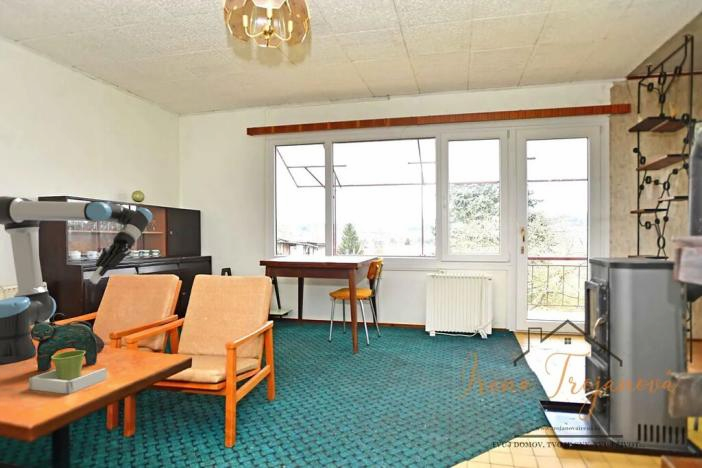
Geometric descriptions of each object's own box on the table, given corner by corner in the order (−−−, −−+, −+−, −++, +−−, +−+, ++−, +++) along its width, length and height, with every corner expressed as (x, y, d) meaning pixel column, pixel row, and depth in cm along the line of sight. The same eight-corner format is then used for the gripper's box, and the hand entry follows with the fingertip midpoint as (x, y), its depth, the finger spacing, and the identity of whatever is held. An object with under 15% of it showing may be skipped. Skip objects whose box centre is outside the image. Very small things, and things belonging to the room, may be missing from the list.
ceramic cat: (30, 373, 146) (29, 316, 146) (36, 368, 152) (35, 313, 152) (96, 365, 153) (95, 311, 153) (99, 360, 159) (98, 308, 159)
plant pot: (46, 387, 132) (46, 359, 132) (58, 377, 141) (57, 351, 141) (80, 383, 135) (80, 356, 135) (89, 374, 144) (89, 349, 144)
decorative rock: (68, 355, 167) (68, 328, 167) (74, 351, 173) (73, 325, 173) (102, 352, 171) (101, 326, 171) (106, 348, 176) (105, 323, 176)
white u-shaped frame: (29, 389, 130) (29, 378, 130) (69, 375, 143) (68, 364, 143) (69, 394, 126) (68, 382, 126) (106, 379, 138) (106, 368, 138)
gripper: (144, 243, 177) (112, 288, 161) (120, 243, 181) (86, 287, 165) (134, 230, 172) (100, 275, 156) (109, 231, 176) (73, 275, 160)
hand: (92, 281), depth 160 cm, fingers closed
